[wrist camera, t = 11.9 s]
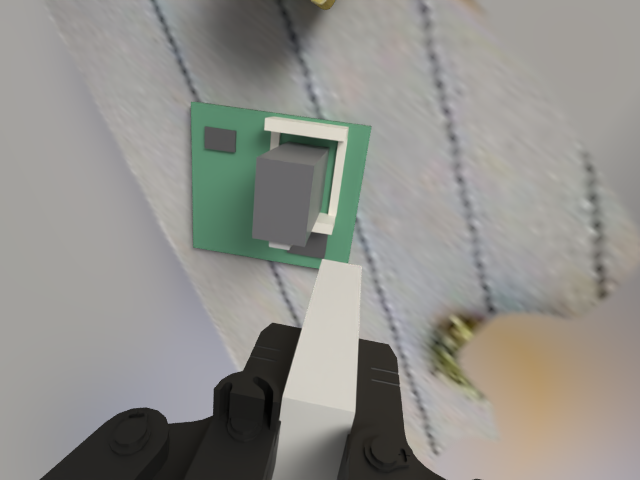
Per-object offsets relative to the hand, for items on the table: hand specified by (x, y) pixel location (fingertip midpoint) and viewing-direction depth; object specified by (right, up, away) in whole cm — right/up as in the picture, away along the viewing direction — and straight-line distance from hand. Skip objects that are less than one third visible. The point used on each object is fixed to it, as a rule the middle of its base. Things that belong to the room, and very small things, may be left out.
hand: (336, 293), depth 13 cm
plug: (-2, +8, +21) cm, 22 cm away
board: (-5, +7, +23) cm, 25 cm away
